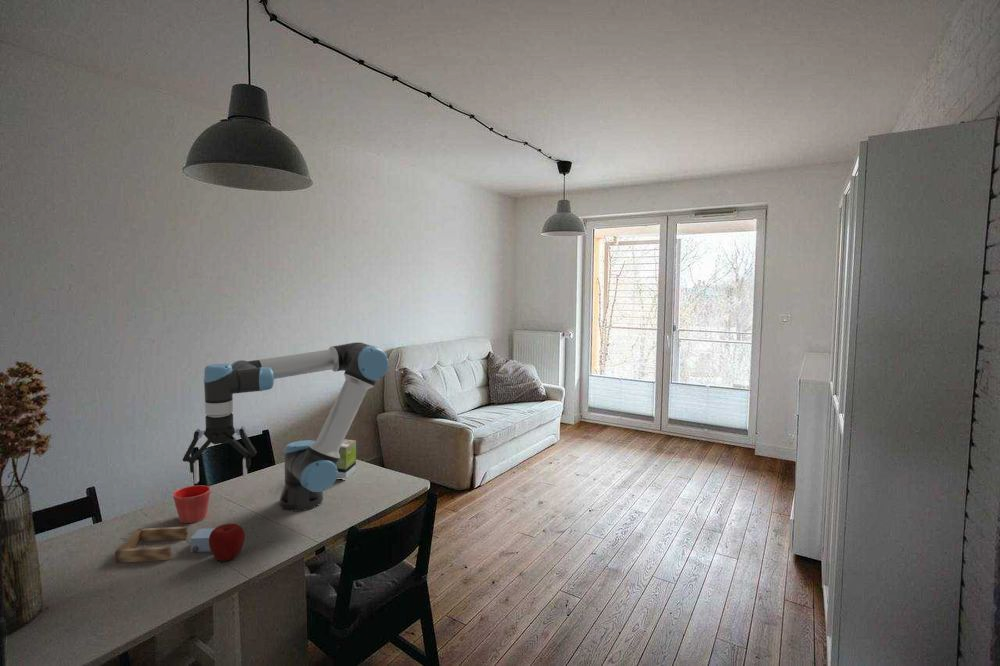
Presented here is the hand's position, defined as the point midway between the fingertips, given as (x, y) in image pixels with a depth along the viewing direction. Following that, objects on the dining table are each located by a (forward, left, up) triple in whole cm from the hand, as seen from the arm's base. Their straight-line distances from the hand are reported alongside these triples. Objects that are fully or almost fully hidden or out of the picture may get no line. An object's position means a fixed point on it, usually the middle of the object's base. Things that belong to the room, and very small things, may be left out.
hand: (221, 479), depth 161 cm
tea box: (-28, -52, -20) cm, 62 cm away
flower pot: (+15, -17, -20) cm, 30 cm away
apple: (-5, +10, -20) cm, 23 cm away
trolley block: (+3, +3, -20) cm, 21 cm away
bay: (+18, +3, -20) cm, 27 cm away
